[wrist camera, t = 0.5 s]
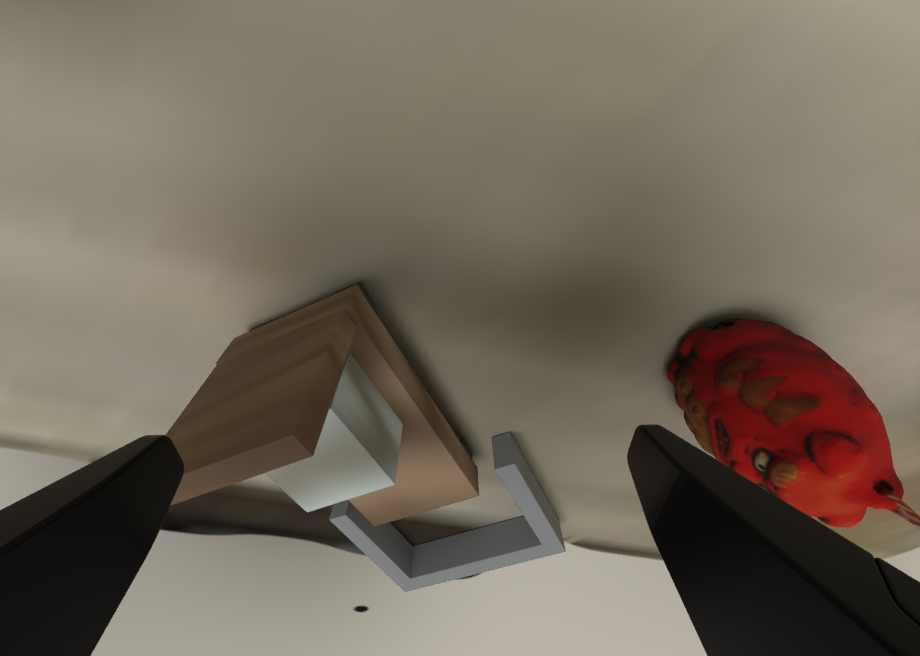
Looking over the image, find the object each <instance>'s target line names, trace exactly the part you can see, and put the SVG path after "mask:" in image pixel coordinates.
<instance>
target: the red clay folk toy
mask: <svg viewBox="0 0 920 656" xmlns="http://www.w3.org/2000/svg"><path fill="white" fill-rule="evenodd" d="M667 375H668V379H669V380H670V381H671V383H672V384H673V385H675V386H676V387H677V392H676V394H675V399H676V402H677V404H678V406H679V407H680V408H681V409H683V410H684V419H685V422H686V424H687V426H688V427H689V429H690V431H691V432H692V433H693V434H694V435H695V438H696V440H697V441H698V443H699V444H700V446H701V447H702V448H703V449H704V450H705V451H706V452H708V453H710V454H711V455H713V456H715V458H716V459H717V460H718V461H719V462H721V463H723V464H724V465H726V466H728V467H729V468H731V469H733V470H734V471H736V472H738V473H739V474H741V475H742V476H744V477H746V478H747V479H749V480H751V481H752V482H754V483H756V484H757V485H759V486H761V487H762V488H764V489H765V490H767V491H769V492H770V493H772V494H774V495H775V496H777V497H779V498H780V499H782V500H784V501H785V502H787V503H789V504H790V505H792V506H793V507H795V508H797V509H798V510H800V511H802V512H803V513H805V514H807V515H808V516H810V517H811V516H815V517H817V518H818V519H819V520H820V521H821V522H823V523H825V524H827V525H829V526H834V527H852V526H854V525H855V524H857V523H859V522H860V521H861V520H862V519H863V517H864V515H865V513H866V508H867V506H869V507H872V508H874V509H887V510H889V511H891V512H893V513H895V514H897V515H899V516H900V517H902V518H904V519H906V520H907V521H909V522H910V523H912V524H913V525H915V526H917V527H918V528H920V516H919V515H918V514H916V513H915V512H914V511H913V510H912V509H911V508H910V507H909V506H907V505H906V504H905V503H904V502H903V501H902V500H901V499H902V496H903V493H904V491H903V487H902V484H901V481H900V480H899V478H898V477H897V475H896V473H895V470H894V468H893V462H892V455H891V448H890V443H889V439H888V436H887V432H886V429H885V426H884V422H883V419H882V416H881V414H880V413H879V411H878V409H877V408H876V406H875V405H874V404H873V403H872V402H871V401H870V399H869V398H868V397H867V395H866V394H865V392H864V391H863V389H862V387H861V386H860V385H859V384H858V383H857V382H856V380H855V379H854V378H853V377H852V376H851V375H850V374H849V373H848V372H847V371H846V370H845V369H844V368H843V367H842V366H840V365H839V364H838V363H837V362H835V361H834V360H833V359H832V358H831V357H830V356H829V355H828V354H827V353H826V352H824V351H823V350H822V349H821V348H819V347H818V346H816V345H815V344H814V343H812V342H811V341H809V340H807V339H805V338H803V337H801V336H798V335H796V334H794V333H793V332H791V331H790V330H788V329H786V328H784V327H782V326H779V325H777V324H774V323H772V322H764V321H757V320H748V319H731V320H727V321H722V322H720V323H718V325H717V327H716V329H715V330H713V329H710V327H704V328H702V329H699V330H694V331H693V332H691V333H690V334H689V335H688V336H686V337H685V338H684V339H683V340H682V342H681V344H680V347H679V354H678V356H677V357H676V359H675V360H674V361H673V362H672V363H671V365H670V367H669V369H668V371H667Z"/></svg>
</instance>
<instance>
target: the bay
mask: <svg viewBox="0 0 920 656" xmlns="http://www.w3.org/2000/svg"><path fill="white" fill-rule="evenodd" d="M492 446H493V456H494V466H495V470H496V472H497V474H498V475H499V477H500V478H501V480H502V482H503V483H504V485H505V486H506V488H507V490H508V491H509V493H510V494H511V496H512V498H513V499H514V501H515V502H516V504H517V506H518V507H519V509H520V510H521V512H522V514H523V515H524V516H521V517H518V518H514V519H510V520H507V521H503V522H499V523H496V524H492V525H489V526H485V527H481V528H478V529H474V530H470V531H467V532H463V533H460V534H456V535H452V536H449V537H445V538H442V539H438V540H434V541H431V542H427V543H423V544H420V545H416V546H412V545H411V544H410V543H409V542H408V541H407V540H406V539H405V538H404V537H403V536H402V535H401V533H400V532H399V531H398V530H397V529H396V528H395V527H394V526H393V525H392V524H391V523H390V522H388V523H385V524H381V525H378V526H373V525H372V524H371V523H370V522H369V521H368V520H367V519H366V517H365V516H364V515H363V514H362V513H361V512H360V511H359V510H358V509H357V508H356V507H355V506H354V505H353V504H352V503H351V502H350V501H349V500H345V501H341V502H338V503H335V504H333V508H332V512H331V515H330V519H329V520H330V521H331V522H332V523H333V524H334V525H335V526H336V527H337V528H338V529H339V530H341V531H342V532H343V533H344V534H345V535H346V536H347V537H348V538H349V539H350V540H351V541H352V542H353V543H354V544H355V545H356V546H357V547H358V548H360V549H361V550H362V551H363V552H364V553H365V554H366V555H367V556H368V557H369V558H370V559H371V560H372V561H373V562H374V563H375V564H376V565H378V567H380V568H381V569H382V570H383V571H384V572H385V573H386V574H387V575H388V576H389V577H390V578H391V579H392V580H393V581H394V582H395V583H397V585H399V586H400V587H401V588H402V589H403V590H404V591H411V590H415V589H418V588H423V587H427V586H430V585H434V584H438V583H442V582H446V581H450V580H454V579H458V578H462V577H466V576H470V575H474V574H478V573H482V572H486V571H490V570H494V569H498V568H502V567H506V566H510V565H514V564H518V563H522V562H526V561H529V560H534V559H537V558H541V557H545V556H549V555H554V554H557V553H561V552H565V546H564V542H563V537H562V533H561V528H560V524H559V519H558V517H557V516H556V514H555V512H554V510H553V508H552V507H551V505H550V503H549V501H548V499H547V498H546V496H545V494H544V492H543V491H542V489H541V487H540V485H539V483H538V482H537V480H536V478H535V476H534V474H533V473H532V471H531V469H530V467H529V465H528V464H527V462H526V460H525V458H524V456H523V455H522V453H521V451H520V449H519V447H518V446H517V444H516V442H515V440H514V438H513V437H512V435H511V433H510V432H507V433H504V434H501V435H498V436H495V437H492Z"/></svg>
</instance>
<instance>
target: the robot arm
mask: <svg viewBox="0 0 920 656" xmlns="http://www.w3.org/2000/svg"><path fill="white" fill-rule="evenodd" d="M627 459H628V466H629V469H630V472H631V475H632V478H633V481H634V484H635V487H636V490H637V493H638V496H639V499H640V502H641V505H642V508H643V511H644V514H645V517H646V520H647V523H648V526H649V528H650V531H651V534H652V536H653V538H654V541H655V543H656V545H657V547H658V549H659V552H660V554H661V556H662V558H663V560H664V562H665V565H666V567H667V569H668V571H669V573H670V575H671V578H672V580H673V582H674V584H675V586H676V588H677V591H678V593H679V594H680V597H681V599H682V601H683V604H684V606H685V608H686V610H687V612H688V614H689V616H690V619H691V621H692V623H693V625H694V627H695V630H696V632H697V634H698V636H699V638H700V640H701V642H702V645H703V647H704V649H705V651H706V653H707V656H920V582H918V581H917V580H915V579H913V578H912V577H910V576H908V575H907V574H905V573H903V572H902V571H900V570H898V569H897V568H895V567H894V566H892V565H890V564H889V563H887V562H885V561H884V560H882V559H880V558H875V559H874V557H873V555H872V554H871V553H869V552H867V551H866V550H864V549H863V548H861V547H859V546H858V545H856V544H854V543H853V542H851V541H849V540H848V539H846V538H844V537H843V536H841V535H840V534H838V533H836V532H835V531H833V530H831V529H830V528H828V527H826V526H825V525H823V524H821V523H820V522H818V521H816V520H815V519H813V518H812V517H810V516H808V515H807V514H805V513H803V512H802V511H800V510H798V509H797V508H795V507H793V506H792V505H790V504H789V503H787V502H785V501H784V500H782V499H780V498H779V497H777V496H775V495H774V494H772V493H770V492H769V491H767V490H765V489H764V488H762V487H761V486H759V485H757V484H756V483H754V482H752V481H751V480H749V479H747V478H746V477H744V476H742V475H741V474H739V473H738V472H736V471H734V470H733V469H731V468H729V467H728V466H726V465H724V464H723V463H721V462H719V461H718V460H716V459H715V458H713V457H711V456H710V455H708V454H706V453H705V452H703V451H701V450H700V449H698V448H696V447H695V446H693V445H691V444H690V443H688V442H687V441H685V440H683V439H682V438H680V437H678V436H677V435H675V434H673V433H672V432H670V431H668V430H667V429H665V428H664V427H662V426H660V425H639V426H638V427H637V428H636V430H635V432H634V435H633V438H632V441H631V444H630V447H629V450H628V455H627ZM183 474H184V463H183V460H182V458H181V456H180V455H179V453H178V451H177V449H176V447H175V445H174V443H173V442H172V440H171V438H170V437H168V436H166V435H146V436H143V437H140V438H138V439H137V440H135V441H133V442H131V443H129V444H127V445H125V446H123V447H121V448H119V449H117V450H115V451H113V452H112V453H110V454H108V455H106V456H104V457H102V458H100V459H98V460H96V461H94V462H92V463H90V464H88V465H87V466H85V467H83V468H81V469H79V470H77V471H75V472H73V473H71V474H69V475H67V476H65V477H64V478H62V479H60V480H58V481H56V482H54V483H52V484H50V485H48V486H46V487H44V488H42V489H41V490H38V491H37V492H35V493H33V494H31V495H29V496H27V497H25V498H23V499H21V500H19V501H17V502H15V503H14V504H12V505H10V506H8V507H6V508H4V509H2V510H0V656H91V654H92V652H93V650H94V648H95V647H96V645H97V643H98V641H99V640H100V638H101V636H102V634H103V633H104V631H105V629H106V627H107V626H108V624H109V622H110V620H111V619H112V617H113V615H114V613H115V612H116V610H117V608H118V606H119V604H120V603H121V601H122V599H123V597H124V596H125V594H126V592H127V590H128V589H129V587H130V585H131V583H132V582H133V580H134V578H135V576H136V575H137V573H138V571H139V569H140V567H141V566H142V564H143V562H144V560H145V559H146V557H147V555H148V553H149V551H150V549H151V547H152V545H153V543H154V541H155V539H156V537H157V535H158V532H159V530H160V528H161V526H162V523H163V521H164V519H165V517H166V514H167V512H168V510H169V508H170V505H171V503H172V501H173V498H174V496H175V494H176V492H177V489H178V487H179V485H180V483H181V480H182V478H183Z"/></svg>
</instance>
